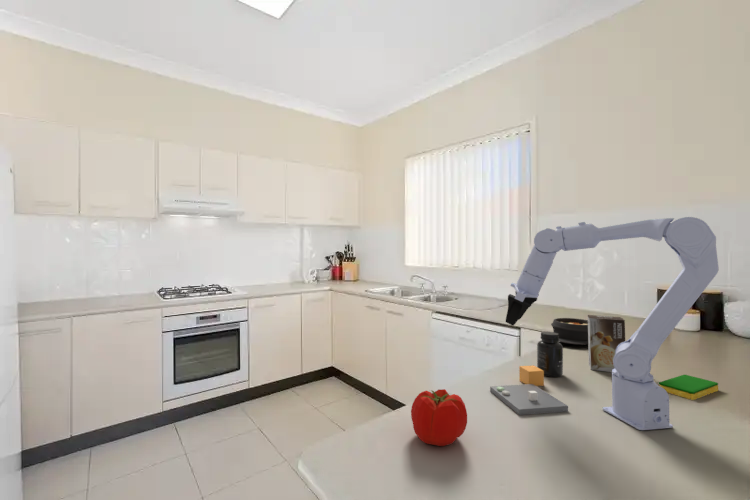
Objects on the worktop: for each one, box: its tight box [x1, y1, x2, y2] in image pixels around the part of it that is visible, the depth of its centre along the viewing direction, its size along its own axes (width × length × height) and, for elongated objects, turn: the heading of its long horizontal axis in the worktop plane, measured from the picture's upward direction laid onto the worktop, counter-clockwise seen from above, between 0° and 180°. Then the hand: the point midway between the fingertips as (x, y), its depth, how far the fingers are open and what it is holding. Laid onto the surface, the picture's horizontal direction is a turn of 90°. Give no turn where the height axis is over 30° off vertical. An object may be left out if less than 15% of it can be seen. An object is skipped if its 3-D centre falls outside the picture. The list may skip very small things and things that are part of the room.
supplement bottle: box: [536, 331, 564, 378], centre depth 100 cm, size 7×7×12 cm
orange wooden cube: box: [518, 365, 545, 387], centre depth 92 cm, size 4×4×4 cm
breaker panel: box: [489, 383, 569, 416], centre depth 81 cm, size 13×12×2 cm
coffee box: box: [587, 314, 626, 373], centre depth 104 cm, size 9×6×16 cm
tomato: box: [410, 389, 468, 447], centre depth 64 cm, size 11×11×9 cm
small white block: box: [528, 391, 538, 401], centre depth 79 cm, size 1×2×2 cm
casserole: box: [550, 317, 588, 346], centre depth 136 cm, size 25×19×8 cm
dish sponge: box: [658, 374, 719, 401], centre depth 88 cm, size 7×14×2 cm, turn 116°
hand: (512, 320), depth 89 cm, fingers open, 7 cm apart
